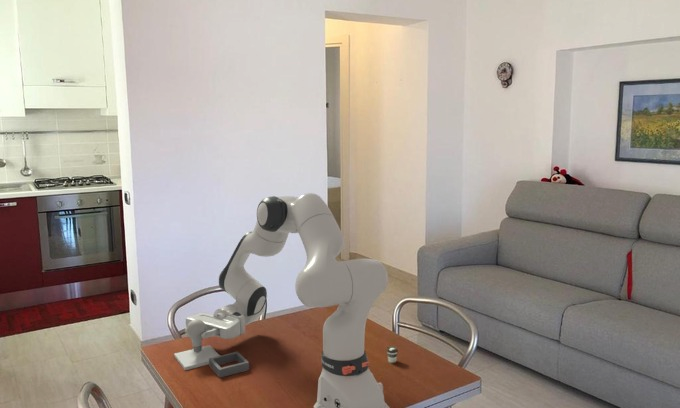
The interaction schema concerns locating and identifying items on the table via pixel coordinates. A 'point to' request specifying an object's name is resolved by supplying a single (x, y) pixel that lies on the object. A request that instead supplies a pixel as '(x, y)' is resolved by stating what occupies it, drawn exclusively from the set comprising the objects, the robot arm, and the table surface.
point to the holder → (229, 370)
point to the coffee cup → (392, 354)
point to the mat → (195, 357)
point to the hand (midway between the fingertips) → (194, 333)
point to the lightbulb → (196, 333)
